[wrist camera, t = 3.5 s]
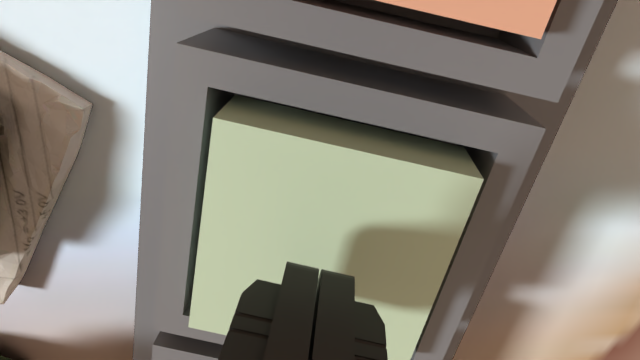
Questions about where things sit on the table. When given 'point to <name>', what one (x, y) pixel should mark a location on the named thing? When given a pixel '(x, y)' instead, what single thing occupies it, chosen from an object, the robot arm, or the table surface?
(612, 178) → the table surface
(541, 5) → the terracotta button
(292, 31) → the button panel
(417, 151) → the sage button
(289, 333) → the robot arm
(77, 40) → the table surface
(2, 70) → the packaged product
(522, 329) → the table surface
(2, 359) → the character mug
